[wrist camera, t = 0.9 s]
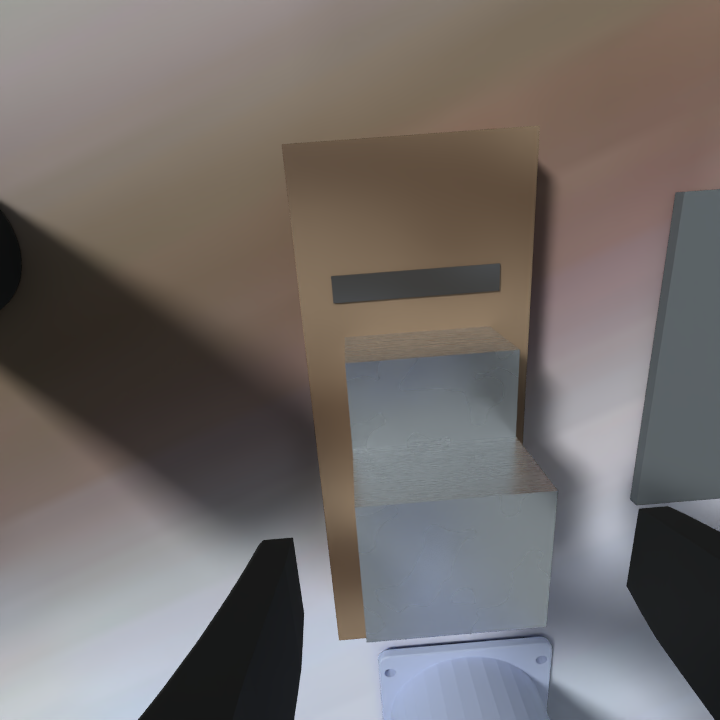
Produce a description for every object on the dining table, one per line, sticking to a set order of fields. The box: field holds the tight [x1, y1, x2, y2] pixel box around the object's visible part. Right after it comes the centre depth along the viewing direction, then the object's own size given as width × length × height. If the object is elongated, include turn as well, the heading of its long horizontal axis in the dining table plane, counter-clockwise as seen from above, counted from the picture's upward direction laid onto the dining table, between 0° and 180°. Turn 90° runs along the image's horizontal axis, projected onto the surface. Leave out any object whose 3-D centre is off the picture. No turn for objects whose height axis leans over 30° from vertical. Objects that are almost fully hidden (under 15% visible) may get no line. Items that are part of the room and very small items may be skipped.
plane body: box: [282, 126, 540, 640], centre depth 16 cm, size 18×7×2 cm, turn 4°
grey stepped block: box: [345, 326, 558, 642], centre depth 12 cm, size 7×4×5 cm, turn 4°
